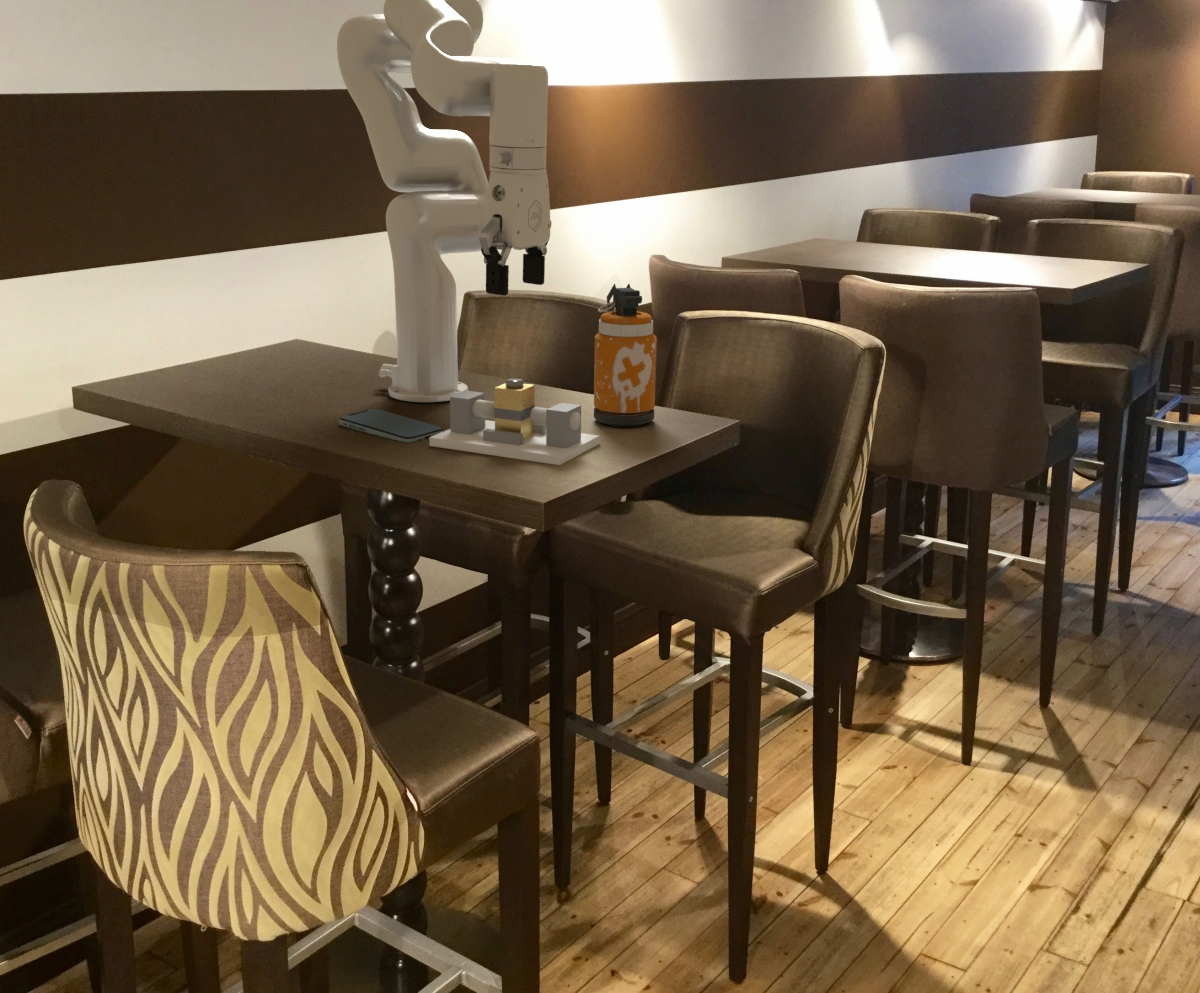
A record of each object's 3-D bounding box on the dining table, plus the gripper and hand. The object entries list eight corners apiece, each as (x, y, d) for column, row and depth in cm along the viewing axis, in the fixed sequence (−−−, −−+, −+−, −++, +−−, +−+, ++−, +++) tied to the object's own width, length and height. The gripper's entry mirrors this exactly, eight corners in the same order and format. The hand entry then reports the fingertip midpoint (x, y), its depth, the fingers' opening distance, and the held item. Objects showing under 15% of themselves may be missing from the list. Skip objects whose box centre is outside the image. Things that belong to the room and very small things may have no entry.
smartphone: (407, 438, 175) (335, 416, 184) (407, 449, 176) (336, 428, 185) (447, 427, 181) (375, 407, 190) (447, 438, 182) (375, 418, 190)
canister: (602, 430, 184) (605, 291, 178) (583, 412, 194) (585, 280, 188) (661, 427, 186) (666, 290, 180) (639, 409, 196) (643, 279, 190)
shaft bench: (429, 445, 174) (428, 401, 173) (474, 426, 185) (474, 384, 183) (559, 465, 166) (559, 419, 164) (599, 444, 177) (600, 400, 175)
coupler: (521, 441, 173) (520, 384, 170) (494, 437, 174) (494, 381, 172) (534, 434, 176) (534, 379, 174) (508, 431, 178) (508, 376, 175)
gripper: (508, 166, 160) (506, 302, 166) (573, 158, 174) (569, 283, 180) (458, 161, 163) (457, 295, 169) (526, 154, 178) (523, 276, 183)
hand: (515, 288), depth 175 cm, fingers open, 9 cm apart
